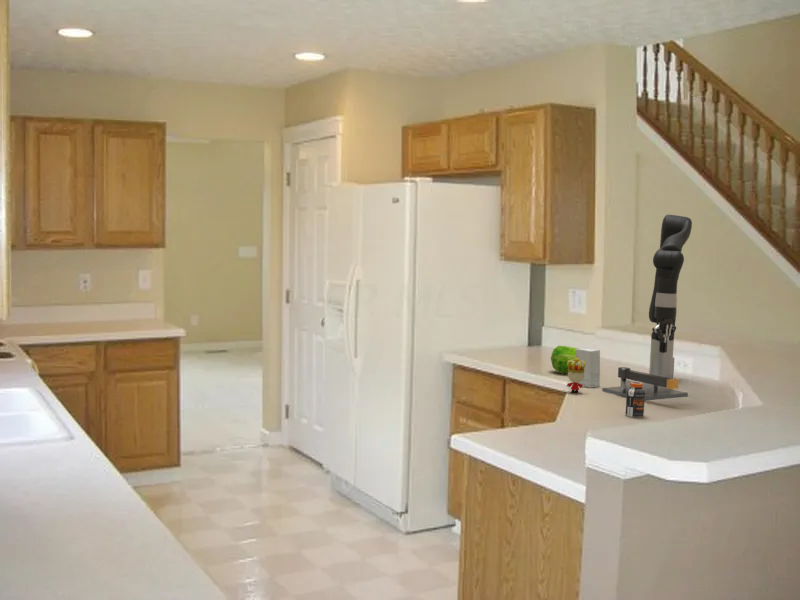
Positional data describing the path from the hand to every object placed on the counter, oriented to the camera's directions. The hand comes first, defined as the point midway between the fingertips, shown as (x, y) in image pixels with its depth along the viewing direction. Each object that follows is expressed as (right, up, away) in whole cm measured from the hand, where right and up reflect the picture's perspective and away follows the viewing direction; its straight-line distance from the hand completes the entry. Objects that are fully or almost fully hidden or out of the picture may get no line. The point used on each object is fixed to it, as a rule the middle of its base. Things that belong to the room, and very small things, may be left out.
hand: (663, 352), depth 324 cm
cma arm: (-6, -11, +1) cm, 13 cm away
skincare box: (-22, -15, +30) cm, 40 cm away
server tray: (-2, -17, +17) cm, 24 cm away
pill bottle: (-17, -20, -25) cm, 37 cm away
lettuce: (-21, -13, +59) cm, 64 cm away
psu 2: (+3, -16, +20) cm, 25 cm away
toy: (-30, -16, +13) cm, 36 cm away
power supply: (-5, -16, +15) cm, 22 cm away
